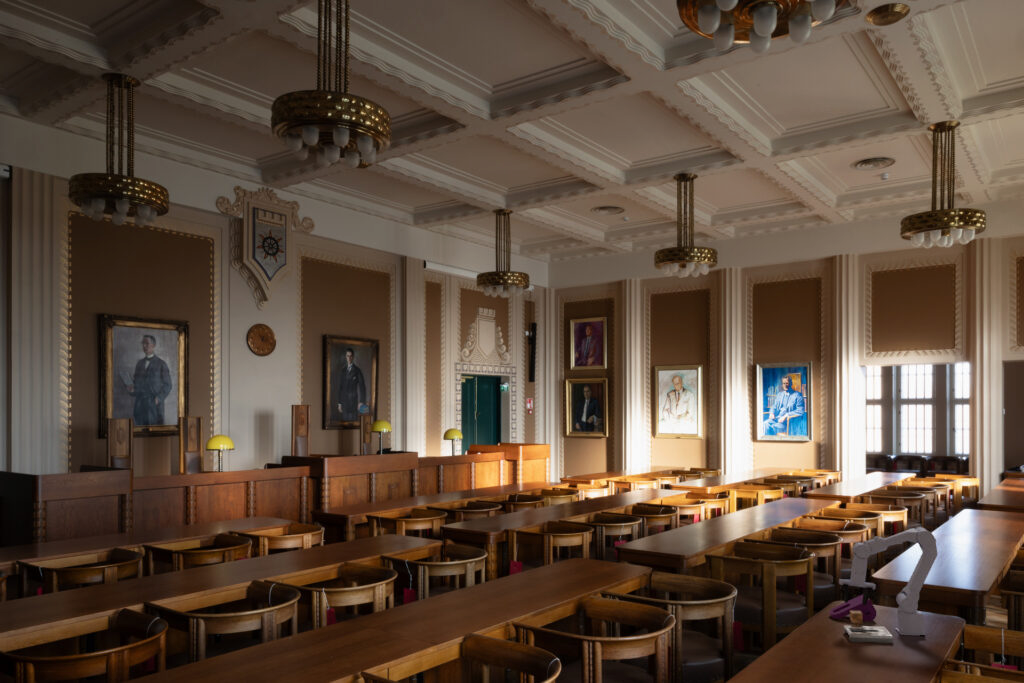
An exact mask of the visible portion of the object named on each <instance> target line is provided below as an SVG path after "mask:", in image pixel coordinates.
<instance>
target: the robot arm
mask: <svg viewBox="0 0 1024 683" xmlns="http://www.w3.org/2000/svg"><path fill="white" fill-rule="evenodd" d="M873 537H874V538H871V539H869V540H863V541H862V542H855V544H854V545H853V547H852V548H851V550H852V552H853V555H852V556H853V557H852V561H851V562H852V563H851V570H850V572H851V573H850V579H846V578H845V579H843V578H842V579H841V578H839V579H838V584H839V585H840V587H841V590H842V595H843V603H848V601H849V595H850V591H851V586H852V587H860V588H862V592H863V601H862V604H863V605H865V606H866V604H867V601H868V599H870V597H871V595H873V593H874V590H876V588H877V587H876V586H877V585H876V584H875V583H873V582H866V576H867V570H868V569H867V567H868V558H869V557H870V556H871V555H875V554H878V553H881V552H884V551H886V550H888V548H889V546H894V545H897V544H900V543H905V542H910V543H915V544H918V546H919V547H920V550H921V552H922V553H921V555H920V557H919V559H918V562H917V564H916V565H915V567H914V570H913V571H912V574H911V576H910V578H909V580H908V582H907V585H905V586H904V587H903V588H902V590H901V591H900V592H899V593H897V595H896V597H895V601H896V603H897V605H898V608H897V621H898V627H895V630H896V631H897V632H898V634H900V635H902V636H920V635H925V636H926V633H925V617H924V613H923V612H922V611H920V610H919V611H918V608H919V604H918V602H919V600H920V592H921V589H922V588H923V586H924V584H925V581H926V579H927V578H928V575H929V574H930V571H931V569H932V567H933V565H934V563H935V561H936V559H937V557H938V549H937V539H936V537H935V536H934V535H933V533H932V532H931V531H929V530H927V529H926V528H925V527H923V526H916V527H915V528H909V529H905V530H904V531H902V532H898V533H896V534H894V535H890V536H887V537H885V538H884V537H882V536H873Z"/></svg>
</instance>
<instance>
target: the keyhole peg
mask: <svg viewBox="0 0 1024 683" xmlns="http://www.w3.org/2000/svg"><path fill="white" fill-rule="evenodd" d="M849 620H850V621H851V623H852V624H853V626H860V624H863V622H864V621H863V619H862V613H861V612H860V611H850V614H849Z"/></svg>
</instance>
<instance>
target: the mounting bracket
mask: <svg viewBox="0 0 1024 683" xmlns="http://www.w3.org/2000/svg"><path fill="white" fill-rule="evenodd" d="M862 601H863V594H861V595H858V596H857V597H853V598H852V599H848V603H845V602H843V603H841V604H839V605H836V606H834V607H833V608H831V609H830V610H829V615H830V617H831V618H832V619H833V618H834V620H837V619H841V618H845V617H846V616H850V611H860V612H861V613H862V619H863V622H872V621H874V620H876V617H877V610H876V608H875V606H874V604H873V602H872V600H871V599H870V598H869V599H868V601H867V604H866V606H865V605H863V604H862Z"/></svg>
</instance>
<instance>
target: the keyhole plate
mask: <svg viewBox="0 0 1024 683" xmlns="http://www.w3.org/2000/svg"><path fill="white" fill-rule="evenodd" d="M843 633H844V634H845V633H848V634H847V635H849V642H850V641H851V642H850V643H861V642H876V643H875V644H889V643H893V644H894V636H893V635H892V633H890V631H889V630H888V629H887V628H886V627H885V626H875V625H874V626H871V625H869V626H868V625H859V626H854V625H845V624H844V625H843ZM878 642H879V643H878Z"/></svg>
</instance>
